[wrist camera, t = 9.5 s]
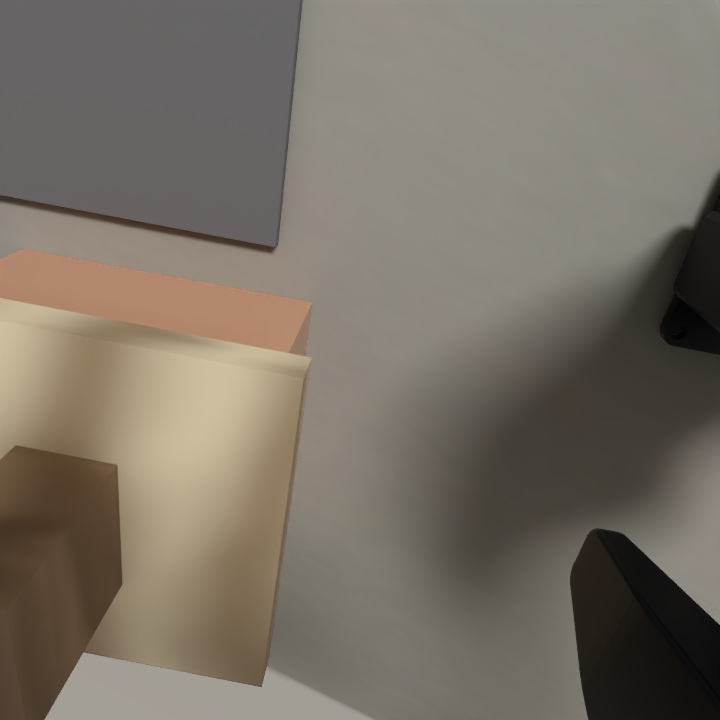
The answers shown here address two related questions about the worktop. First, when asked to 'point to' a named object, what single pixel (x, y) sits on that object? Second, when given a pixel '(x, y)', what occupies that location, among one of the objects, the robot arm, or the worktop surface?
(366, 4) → the worktop surface
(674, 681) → the robot arm
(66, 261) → the pink open tray
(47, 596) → the lid
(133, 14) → the mat
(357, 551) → the worktop surface
